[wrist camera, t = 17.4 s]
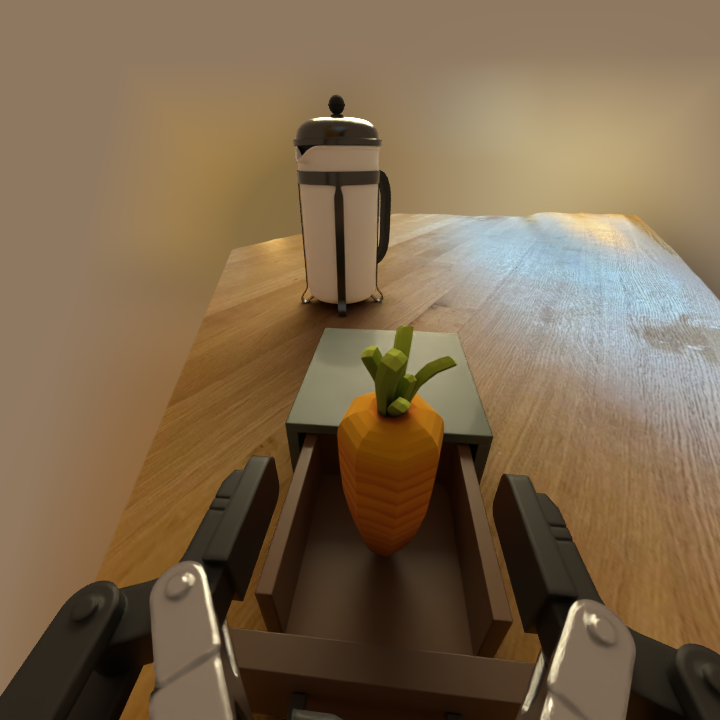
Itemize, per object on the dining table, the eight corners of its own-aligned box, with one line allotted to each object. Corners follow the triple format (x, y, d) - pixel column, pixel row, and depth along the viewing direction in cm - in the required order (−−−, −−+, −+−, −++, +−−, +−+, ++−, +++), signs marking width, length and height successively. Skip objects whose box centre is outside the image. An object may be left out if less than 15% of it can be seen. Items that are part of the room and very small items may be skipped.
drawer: (558, 955, 11) (636, 977, 8) (190, 886, 12) (130, 882, 9) (463, 486, 26) (476, 431, 23) (307, 473, 27) (300, 419, 24)
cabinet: (472, 510, 25) (493, 436, 21) (296, 495, 26) (284, 423, 22) (447, 392, 37) (457, 332, 33) (328, 386, 39) (325, 327, 35)
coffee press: (390, 318, 55) (402, 83, 39) (294, 317, 55) (267, 85, 39) (387, 284, 69) (394, 104, 54) (311, 283, 70) (296, 104, 54)
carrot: (377, 500, 23) (386, 300, 16) (439, 547, 21) (487, 332, 13) (326, 554, 20) (304, 337, 12) (391, 618, 17) (416, 389, 10)
